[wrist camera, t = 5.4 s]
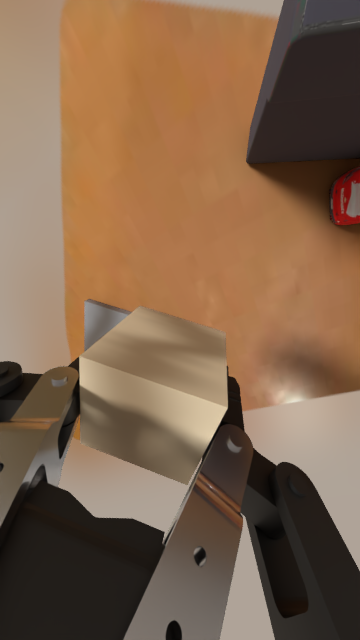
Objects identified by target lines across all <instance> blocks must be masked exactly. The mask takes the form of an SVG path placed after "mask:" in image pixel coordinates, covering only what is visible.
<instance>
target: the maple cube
mask: <svg viewBox="0 0 360 640" xmlns="http://www.w3.org/2000/svg"><path fill="white" fill-rule="evenodd" d="M79 372H80V439H81V444H84V445H86V446H89V447H91V448H94V449H96V450H99V451H102V452H104V453H107V454H109V455H112V456H114V457H117V458H119V459H122V460H124V461H127V462H130V463H132V464H135V465H137V466H140V467H142V468H145V469H147V470H150V471H153V472H155V473H158V474H160V475H163V476H166V477H168V478H170V479H173V480H176V481H178V482H181V483H183V484H186V485H188V483H189V481H190V479H191V477H192V475H193V473H194V471H195V469H196V467H197V465H198V464H199V462H200V460H201V458H202V456H203V454H204V452H205V450H206V448H207V447H208V445H209V443H210V441H211V439H212V437H213V435H214V433H215V431H216V429H217V428H218V426H219V424H220V422H221V420H222V418H223V416H224V414H225V412H226V410H227V408H228V395H227V363H226V332H223V331H220V330H217V329H214V328H211V327H207V326H204V325H201V324H198V323H194V322H191V321H188V320H185V319H182V318H178V317H175V316H172V315H169V314H166V313H162V312H159V311H156V310H153V309H149V308H146V307H143V306H139V307H138V308H137V309H135V310H134V311H133V312H132V313H131V314H129V315H128V316H127V317H126V318H125V319H123V320H122V321H121V322H120V323H119V324H117V325H116V326H115V327H114V328H113V329H111V330H110V331H109V332H108V333H107V334H105V335H104V336H103V337H102V338H101V339H99V340H98V341H97V342H96V343H95V344H93V345H92V346H91V347H90V348H89V349H87V350H86V351H85V352H84V353H82V354H81V355H80V356H79Z"/></svg>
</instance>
